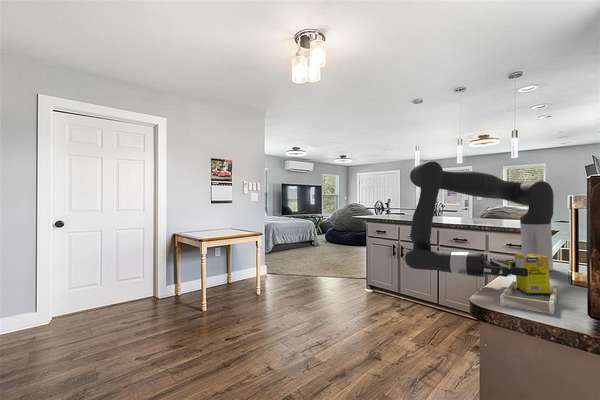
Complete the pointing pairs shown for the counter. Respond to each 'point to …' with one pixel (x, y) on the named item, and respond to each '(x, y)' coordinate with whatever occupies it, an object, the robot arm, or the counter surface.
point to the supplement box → (533, 274)
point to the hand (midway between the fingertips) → (529, 269)
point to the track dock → (528, 301)
